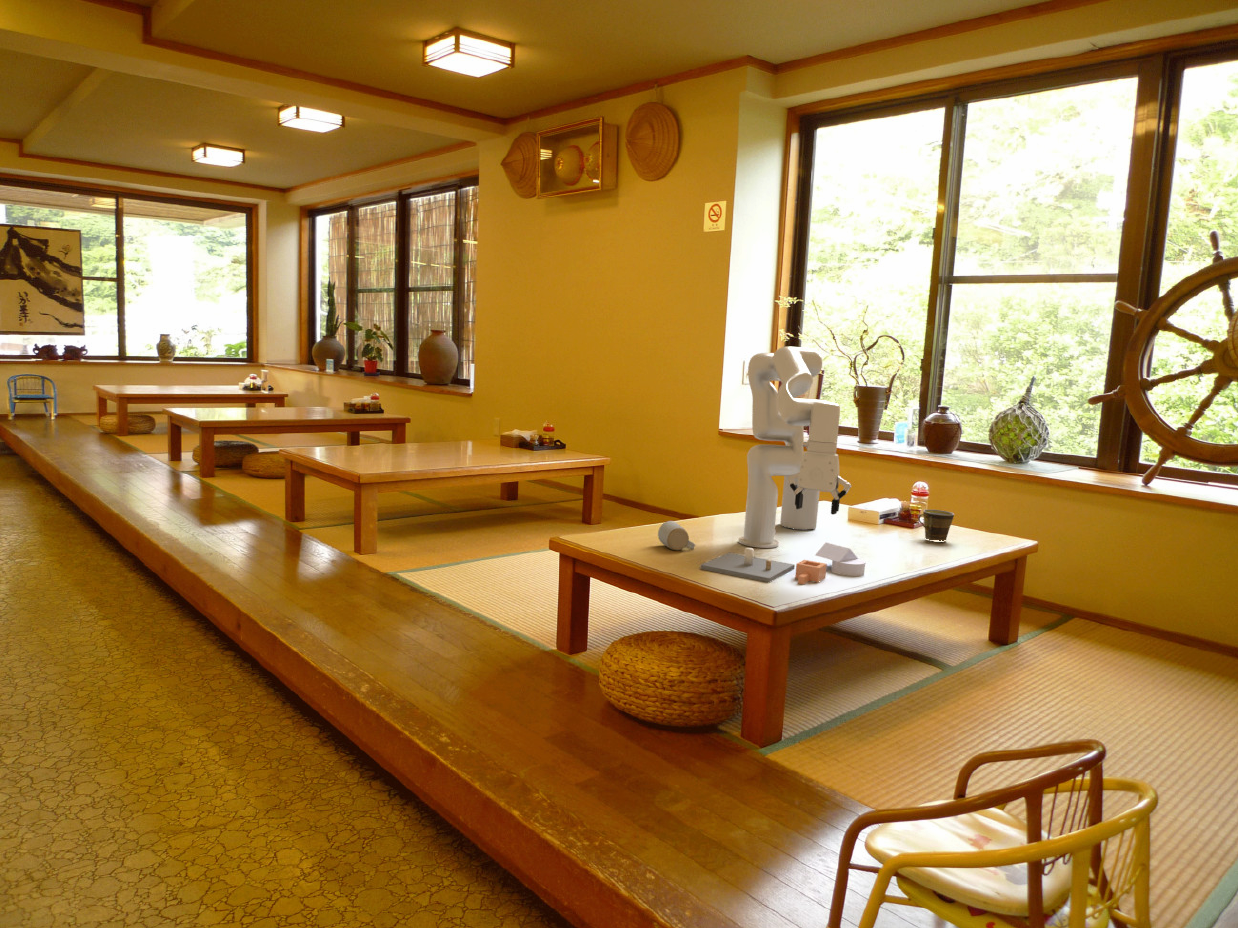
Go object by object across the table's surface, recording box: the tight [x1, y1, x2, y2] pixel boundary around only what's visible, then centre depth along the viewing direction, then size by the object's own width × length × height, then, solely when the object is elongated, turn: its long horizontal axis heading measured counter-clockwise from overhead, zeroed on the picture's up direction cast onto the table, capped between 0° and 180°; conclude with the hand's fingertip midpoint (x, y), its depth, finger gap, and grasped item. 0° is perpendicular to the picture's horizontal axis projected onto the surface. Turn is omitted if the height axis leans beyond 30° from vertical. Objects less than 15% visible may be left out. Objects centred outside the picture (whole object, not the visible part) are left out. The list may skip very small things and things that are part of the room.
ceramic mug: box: [657, 520, 696, 551], centre depth 264 cm, size 11×8×8 cm
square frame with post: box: [794, 559, 828, 585], centre depth 236 cm, size 11×6×4 cm, turn 149°
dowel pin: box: [766, 559, 772, 570], centre depth 240 cm, size 1×1×2 cm
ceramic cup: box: [917, 509, 955, 541], centre depth 300 cm, size 13×10×10 cm
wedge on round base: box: [814, 542, 866, 577], centre depth 250 cm, size 9×7×13 cm
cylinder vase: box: [779, 476, 821, 531], centre depth 309 cm, size 12×12×25 cm
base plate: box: [699, 547, 796, 583], centre depth 244 cm, size 20×20×6 cm
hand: (816, 511), depth 236 cm, fingers open, 9 cm apart
